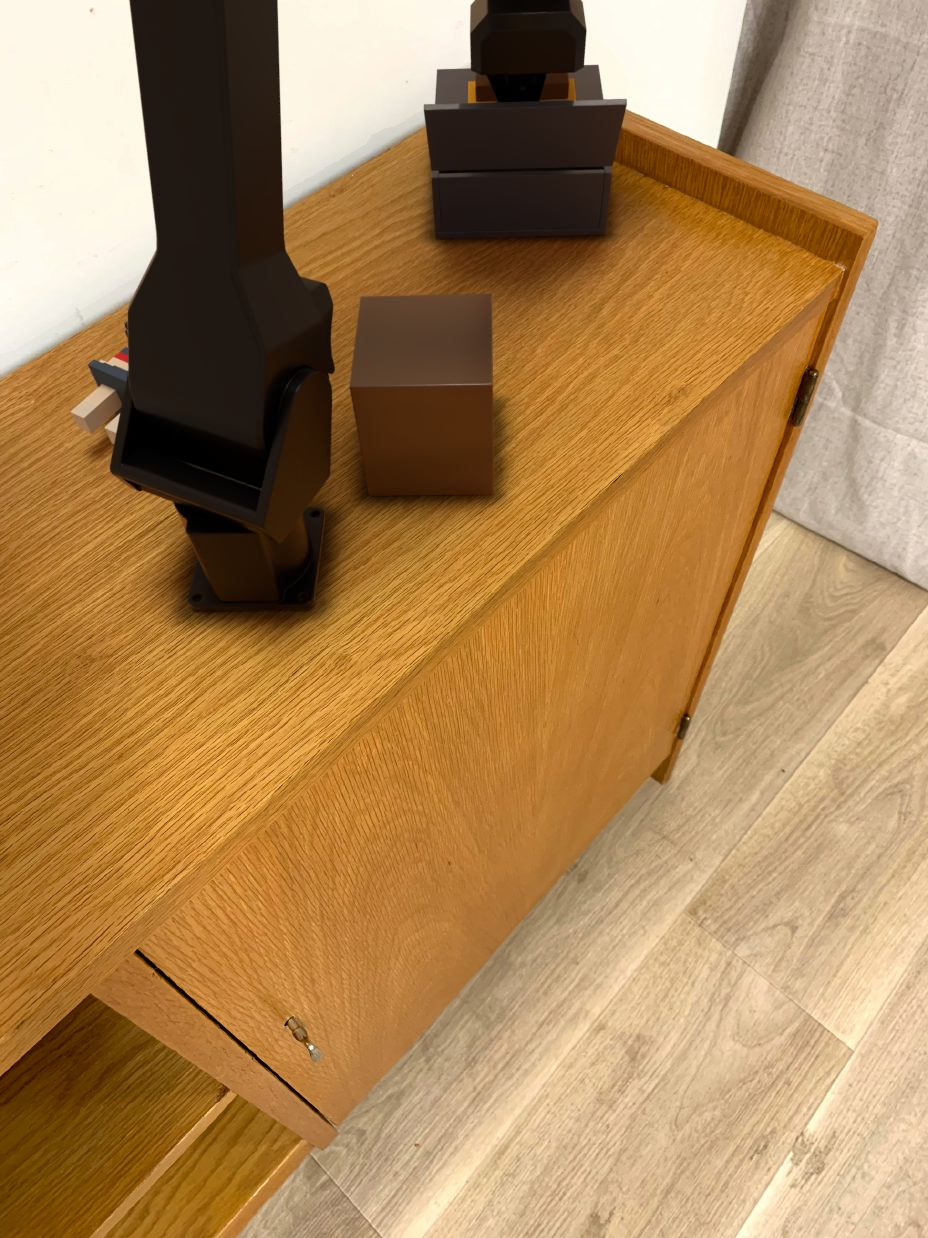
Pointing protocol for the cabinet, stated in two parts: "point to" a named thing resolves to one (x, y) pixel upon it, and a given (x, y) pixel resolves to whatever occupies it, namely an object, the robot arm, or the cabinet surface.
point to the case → (519, 184)
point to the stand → (425, 394)
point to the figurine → (104, 394)
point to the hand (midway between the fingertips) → (520, 121)
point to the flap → (523, 134)
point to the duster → (553, 90)
